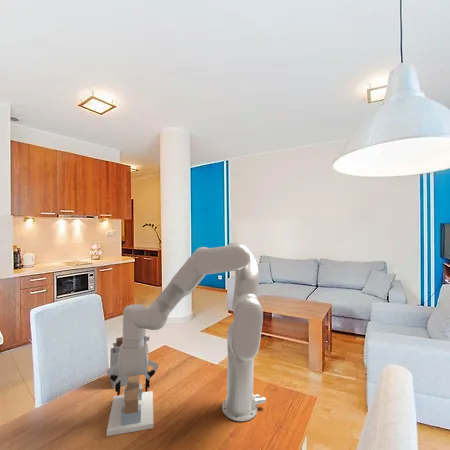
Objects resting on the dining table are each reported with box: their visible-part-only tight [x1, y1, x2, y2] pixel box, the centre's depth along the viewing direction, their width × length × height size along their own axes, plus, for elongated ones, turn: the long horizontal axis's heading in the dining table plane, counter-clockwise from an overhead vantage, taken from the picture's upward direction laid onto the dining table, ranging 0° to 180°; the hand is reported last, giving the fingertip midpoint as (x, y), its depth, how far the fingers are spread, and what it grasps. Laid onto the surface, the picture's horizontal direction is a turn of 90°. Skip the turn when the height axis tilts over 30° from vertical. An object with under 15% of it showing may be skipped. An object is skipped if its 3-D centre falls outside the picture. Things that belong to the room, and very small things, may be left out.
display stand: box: [106, 383, 154, 437], centre depth 95 cm, size 14×18×6 cm
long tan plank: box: [125, 375, 141, 414], centre depth 95 cm, size 4×16×4 cm, turn 16°
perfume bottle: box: [109, 336, 128, 390], centre depth 114 cm, size 7×7×18 cm
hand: (132, 391), depth 95 cm, fingers open, 8 cm apart
